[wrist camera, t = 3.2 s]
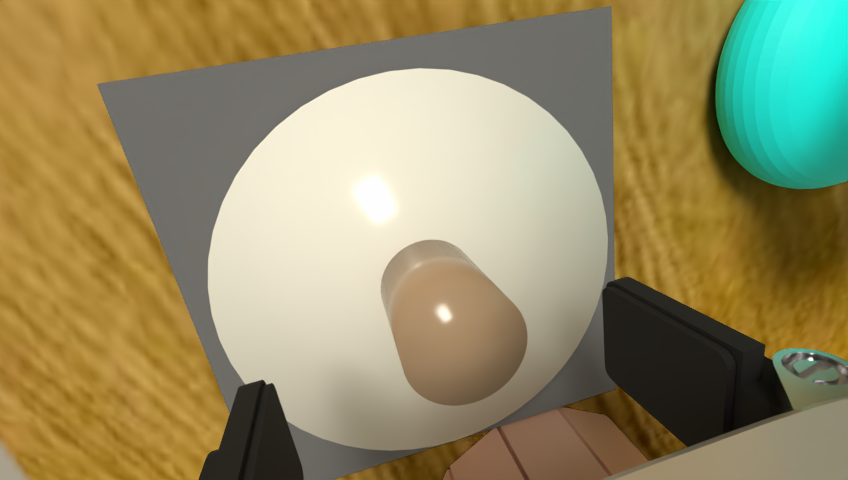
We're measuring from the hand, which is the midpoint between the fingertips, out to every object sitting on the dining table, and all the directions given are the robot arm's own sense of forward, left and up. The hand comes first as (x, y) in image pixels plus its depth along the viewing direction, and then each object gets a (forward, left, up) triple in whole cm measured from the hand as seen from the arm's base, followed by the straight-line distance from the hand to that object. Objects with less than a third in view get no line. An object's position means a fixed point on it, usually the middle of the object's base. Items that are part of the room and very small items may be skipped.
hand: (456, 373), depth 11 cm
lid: (0, -1, -6) cm, 6 cm away
